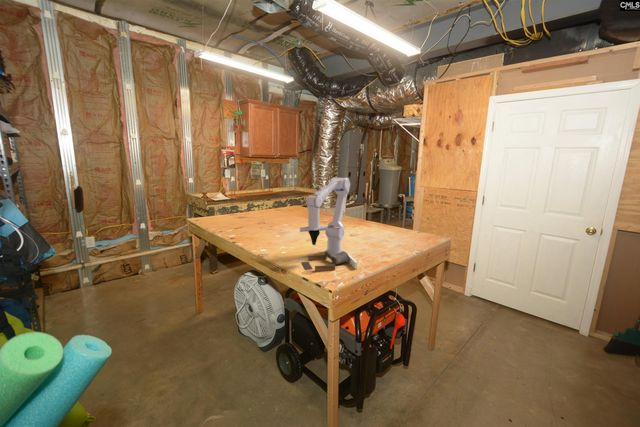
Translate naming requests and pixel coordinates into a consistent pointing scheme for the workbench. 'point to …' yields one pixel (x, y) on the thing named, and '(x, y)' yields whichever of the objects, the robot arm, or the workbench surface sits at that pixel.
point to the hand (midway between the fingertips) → (313, 244)
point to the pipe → (338, 257)
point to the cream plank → (352, 261)
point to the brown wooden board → (322, 267)
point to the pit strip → (306, 265)
